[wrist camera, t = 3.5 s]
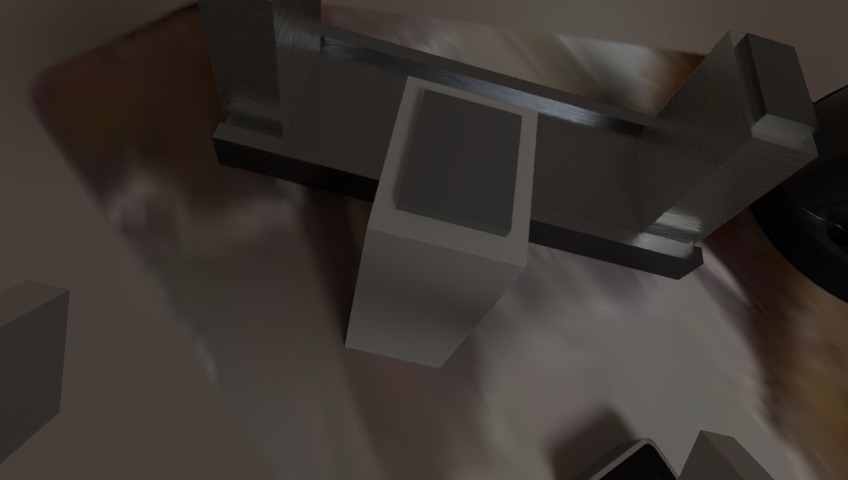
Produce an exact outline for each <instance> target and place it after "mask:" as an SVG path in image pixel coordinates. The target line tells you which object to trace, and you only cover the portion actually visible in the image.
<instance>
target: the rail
mask: <svg viewBox="0 0 848 480" xmlns="http://www.w3.org/2000/svg"><path fill="white" fill-rule="evenodd" d="M198 4H199V8H200V13H201V17H202V21H203V26H204V30H205V35H206V39H207V44H208V48H209V52H210V57H211V61H212V66H213V70H214V75H215V79H216V84H217V88H218V92H219V97H220V101H221V106H222V110H223V115H224V119H225V123H221V122H220V123H219V125H218V127H217V129H216V130H215V132H214V134H213V136H212V139H213V142H214V146H215V150H216V153H217V157H218V161H219V163H220V164H224V165H228V166H232V167H236V168H240V169H244V170H248V171H252V172H256V173H260V174H264V175H268V176H272V177H276V178H279V179H283V180H287V181H291V182H295V183H299V184H303V185H307V186H311V187H315V188H319V189H323V190H327V191H331V192H335V193H339V194H342V195H346V196H350V197H354V198H358V199H362V200H366V201H370V202H374V200H375V196H376V192H377V189H378V185H379V181H380V178H381V174H382V170H383V167H384V163H385V159H386V156H387V152H388V148H389V145H390V141H391V137H392V134H393V130H394V126H395V123H396V119H397V115H398V112H399V108H400V104H401V101H402V97H403V93H404V90H405V86H406V82H407V79H408V76H412V77H415V78H419V79H422V80H426V81H430V82H433V83H437V84H440V85H444V86H448V87H451V88H455V89H458V90H462V91H466V92H469V93H473V94H477V95H480V96H484V97H487V98H491V99H495V100H498V101H502V102H505V103H509V104H513V105H516V106H520V107H523V108H527V109H531V110H534V111H538V119H537V132H536V145H535V158H534V172H533V185H532V198H531V211H530V224H529V238H528V242H531V243H535V244H539V245H543V246H547V247H551V248H555V249H559V250H563V251H567V252H571V253H575V254H579V255H582V256H586V257H590V258H594V259H598V260H602V261H606V262H610V263H614V264H618V265H622V266H626V267H630V268H634V269H638V270H642V271H645V272H649V273H653V274H657V275H661V276H665V277H669V278H673V279H677V280H679V279H681V278H682V277H684V276H685V275H687V274H689V273H690V272H692V271H693V270H695V269H696V268H698V267H699V266H701V265H703V256H702V248H701V247H697V246H693V245H694V244H695V243H697V242H698V241H700V240H701V239H702V238H704V237H705V236H707V235H708V234H709V233H711V232H712V231H714V230H715V229H716V228H718V227H719V226H721V225H722V224H724V223H725V222H726V221H728V220H729V219H731V218H732V217H733V216H735V215H736V214H738V213H739V212H740V211H742V210H743V209H745V208H746V207H747V206H749V205H750V204H752V203H753V202H754V201H756V200H757V199H759V198H760V197H762V196H763V195H764V194H766V193H767V192H769V191H770V190H771V189H773V188H774V187H776V186H777V185H778V184H780V183H781V182H783V181H784V180H785V179H787V178H788V177H790V176H791V175H792V174H794V173H795V172H797V171H798V170H800V169H801V168H802V167H804V166H805V165H807V164H808V163H809V162H811V161H812V160H814V159H815V158H816V157H818V156H819V155H818V152H817V149H816V145H815V142H814V139H813V135H812V134H813V133H815V132H816V131H817V130H819V129H820V128H819V125H818V121H817V118H816V115H815V112H814V109H813V105H812V102H811V99H810V96H809V93H808V90H807V86H806V83H805V80H804V77H803V74H802V70H801V67H800V64H799V61H798V58H797V54H796V51H795V48H794V47H792V46H789V45H786V44H782V43H779V42H775V41H772V40H769V39H766V38H762V37H759V36H756V35H752V34H749V33H747V34H746V35H745V34H742V33H739V32H735V31H732V30H729V31H728V32H727V33H726V34H725V35H724V37H723V38H722V39H721V40H720V41H719V42H718V44H717V45H716V46H715V47H714V48H713V49H712V51H711V52H710V53H709V54H708V55H707V56H706V58H705V59H704V60H703V61H702V62H701V63H700V65H699V66H698V67H697V68H696V69H695V70H694V72H693V73H692V74H691V75H690V76H689V77H688V79H687V80H686V81H685V82H684V83H683V84H682V86H681V87H680V88H679V89H678V90H677V91H676V93H675V94H674V95H673V96H672V97H671V98H670V100H669V101H668V102H667V103H666V104H665V105H664V107H663V108H662V109H661V110H660V111H659V112H658V114H657V115H656V116H655V117H653V116H649V115H645V114H642V113H638V112H635V111H631V110H628V109H624V108H621V107H617V106H614V105H610V104H606V103H603V102H599V101H596V100H592V99H589V98H585V97H582V96H578V95H574V94H571V93H567V92H564V91H560V90H557V89H553V88H550V87H546V86H542V85H539V84H535V83H532V82H528V81H525V80H521V79H518V78H514V77H510V76H507V75H503V74H500V73H496V72H493V71H489V70H486V69H482V68H478V67H475V66H471V65H468V64H464V63H461V62H457V61H454V60H450V59H447V58H443V57H439V56H436V55H432V54H429V53H425V52H422V51H418V50H415V49H411V48H407V47H404V46H400V45H397V44H393V43H390V42H386V41H383V40H379V39H375V38H372V37H368V36H365V35H361V34H358V33H354V32H351V31H347V30H343V29H340V28H336V27H333V26H329V25H326V24H322V23H321V0H198Z"/></svg>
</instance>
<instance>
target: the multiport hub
mask: <svg viewBox="0 0 848 480" xmlns="http://www.w3.org/2000/svg"><path fill="white" fill-rule="evenodd" d="M678 478H679V477H678V475H677V474H676V472H675V471H674V469H673V468H672V467H671V465H670V464H669V462H668V461H667V459H666V458H665V456H664V455H663V453H662V452H661V451H660V449H659V448H658V446H657V445H656V443H655V442H654V441H653V440H651V439H649V438H643V439H638V440H634V441H630V442H625V443H621V444H619V445H618V446H616V447H615V448H614V449H612V450H611V451H609V452H608V453H607V454H605V455H604V456H603V457H601V458H600V459H599V460H597V461H596V462H595V463H593V464H592V465H591V466H589V467H588V468H587V469H585V470H584V471H582V472H581V473H580V474H578V475H577V476H576V477H574V478H573V479H572V480H678Z"/></svg>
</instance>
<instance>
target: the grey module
mask: <svg viewBox="0 0 848 480" xmlns="http://www.w3.org/2000/svg"><path fill="white" fill-rule="evenodd" d="M537 119H538V111H534V110H531V109H527V108H523V107H520V106H516V105H513V104H509V103H505V102H502V101H498V100H495V99H491V98H487V97H484V96H480V95H477V94H473V93H469V92H466V91H462V90H458V89H455V88H451V87H448V86H444V85H440V84H437V83H433V82H430V81H426V80H422V79H419V78H415V77H412V76H408V79H407V82H406V86H405V90H404V93H403V97H402V101H401V104H400V108H399V112H398V115H397V119H396V123H395V126H394V130H393V134H392V137H391V141H390V145H389V148H388V152H387V156H386V159H385V163H384V167H383V170H382V174H381V178H380V181H379V185H378V189H377V192H376V196H375V200H374V203H373V207H372V211H371V214H370V218H369V222H368V225H367V230H366V235H365V240H364V246H363V251H362V256H361V262H360V267H359V272H358V278H357V283H356V288H355V294H354V299H353V304H352V310H351V315H350V321H349V326H348V331H347V337H346V342H345V347H348V348H353V349H357V350H361V351H366V352H370V353H374V354H379V355H383V356H388V357H392V358H396V359H401V360H405V361H409V362H414V363H418V364H422V365H427V366H431V367H436V368H440V367H441V366H442V365H443V364H444V362H445V361H446V360H447V359H448V358H449V357H450V356H451V354H452V353H453V352H454V351H455V350H456V349H457V347H458V346H459V345H460V344H461V343H462V342H463V340H464V339H465V338H466V337H467V336H468V335H469V333H470V332H471V331H472V330H473V329H474V328H475V327H476V325H477V324H478V323H479V322H480V321H481V320H482V318H483V317H484V316H485V315H486V314H487V313H488V311H489V310H490V309H491V308H492V307H493V306H494V304H495V303H496V302H497V301H498V300H499V299H500V298H501V296H502V295H503V294H504V293H505V292H506V291H507V289H508V288H509V287H510V286H511V285H512V284H513V282H514V281H515V280H516V279H517V278H518V277H519V275H520V274H521V273H522V272H523V271H524V270H525V269H526V264H527V251H528V238H529V224H530V211H531V198H532V185H533V172H534V158H535V145H536V132H537Z"/></svg>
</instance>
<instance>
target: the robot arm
mask: <svg viewBox="0 0 848 480" xmlns="http://www.w3.org/2000/svg"><path fill="white" fill-rule="evenodd" d="M812 105H813V109H814V112H815V115H816V118H817V121H818V125H819V128H820V129H819V130H817V131H816V132H815V133H813V134H812V135H813V139H814V142H815V145H816V149H817V152H818V155H819V156H818V157H816V158H815V159H814V160H812V161H811V162H809V163H808V164H807V165H805V166H804V167H802V168H801V169H800V170H798V171H797V172H795V173H794V174H792V175H791V176H790V177H788V178H787V179H785V180H784V181H783V182H781V183H780V184H778V185H777V186H776V187H774V188H773V189H771V190H770V191H769V192H767V193H766V194H764V195H763V196H762V197H760V198H759V199H757V200H756V201H754V202H753V203H752V204H753V207H754V209H755V211H756V213H757V215H758V217H759V219H760V220H761V222H762V224H763V225H764V227H765V229H766V230H767V231H768V233H769V234H770V236H771V237H772V238H773V240H774V241H775V242H776V244H777V245H778V246H779V247H780V248H781V250H782V251H783V252H784V253H785V254H786V255H787V256H788V257H789V259H790V260H791V261H792V262H793V263H794V264H795V265H796V266H798V267H799V268H800V269H801V270H802V271H803V272H804V273H805V274H807V275H808V276H809V277H810V278H811V279H813V280H814V281H815V282H817V283H818V284H819V285H820V286H822V287H823V288H825V289H826V290H828V291H829V292H831V293H832V294H834V295H836V296H837V297H839V298H841V299H842V300H844V301H846V302H848V85H847V86H845V87H842V88H840V89H838V90H836V91H834V92H832V93H830V94H828V95H827V96H825V97H823V98H821V99H820V100H818V101H817V102H813V103H812ZM69 292H70V290H68V289H63V288H59V287H55V286H50V285H46V284H41V283H36V282H32V281H27V282H24V283H22V284H20V285H18V286H15V287H13V288H11V289H9V290H7V291H4V292H2V293H0V463H2V462H3V461H4V460H5V459H6V458H7V457H8V456H10V455H11V454H12V453H13V452H14V451H15V450H17V449H18V448H19V447H20V446H21V445H22V444H24V443H25V442H26V441H27V440H28V439H29V438H30V437H32V436H33V435H34V434H35V433H36V432H37V431H39V430H40V429H41V428H42V427H43V426H44V425H45V424H47V423H48V422H49V421H50V420H51V419H52V418H53V417H55V416H56V415H57V414H58V413H59V412H60V400H61V388H62V376H63V364H64V352H65V340H66V339H65V338H66V328H67V315H68V304H69ZM678 480H774V479H773V478H772V477H771V476H770V475H769V474H768V473H767V472H766V470H765V469H764V468H763V467H762V466H761V465H760V464H759V463H758V462H757V461H756V460H755V459H754V458H753V457H752V456H751V455H750V454H749V453H748V452H747V451H746V450H745V449H744V448H743V447H742V446H741V445H740V444H739V443H738V441H737V440H736V439H735V438H734V437H730V436H725V435H721V434H716V433H712V432H707V431H703V430H701V431H700V433H699V435H698V437H697V439H696V441H695V444H694V446H693V448H692V450H691V452H690V454H689V457H688V459H687V461H686V463H685V465H684V468H683V470H682V472H681V474H680V476H679V478H678Z"/></svg>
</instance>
